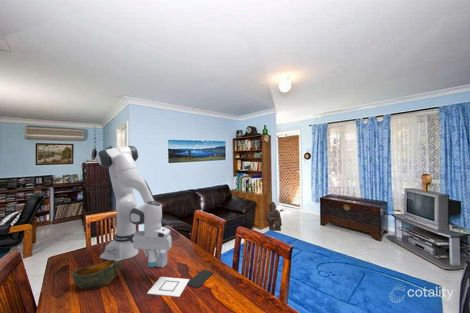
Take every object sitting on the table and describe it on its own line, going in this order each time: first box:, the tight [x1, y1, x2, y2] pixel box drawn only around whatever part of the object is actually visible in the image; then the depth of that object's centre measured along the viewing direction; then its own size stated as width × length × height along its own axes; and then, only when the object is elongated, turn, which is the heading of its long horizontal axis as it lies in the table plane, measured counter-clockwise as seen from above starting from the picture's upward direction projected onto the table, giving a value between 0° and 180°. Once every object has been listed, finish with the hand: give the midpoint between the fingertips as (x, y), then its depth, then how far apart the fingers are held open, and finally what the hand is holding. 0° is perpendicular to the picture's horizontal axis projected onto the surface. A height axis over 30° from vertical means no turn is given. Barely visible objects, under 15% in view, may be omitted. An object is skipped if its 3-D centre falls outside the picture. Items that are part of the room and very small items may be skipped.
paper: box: [146, 276, 190, 298], centre depth 100 cm, size 16×13×1 cm
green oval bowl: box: [71, 260, 124, 290], centre depth 102 cm, size 13×20×10 cm, turn 79°
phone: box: [186, 269, 214, 289], centre depth 107 cm, size 7×1×15 cm
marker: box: [147, 249, 157, 268], centre depth 109 cm, size 4×4×10 cm
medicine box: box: [155, 250, 168, 269], centre depth 120 cm, size 8×4×9 cm, turn 71°
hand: (152, 256), depth 109 cm, fingers closed on marker, 4 cm apart
